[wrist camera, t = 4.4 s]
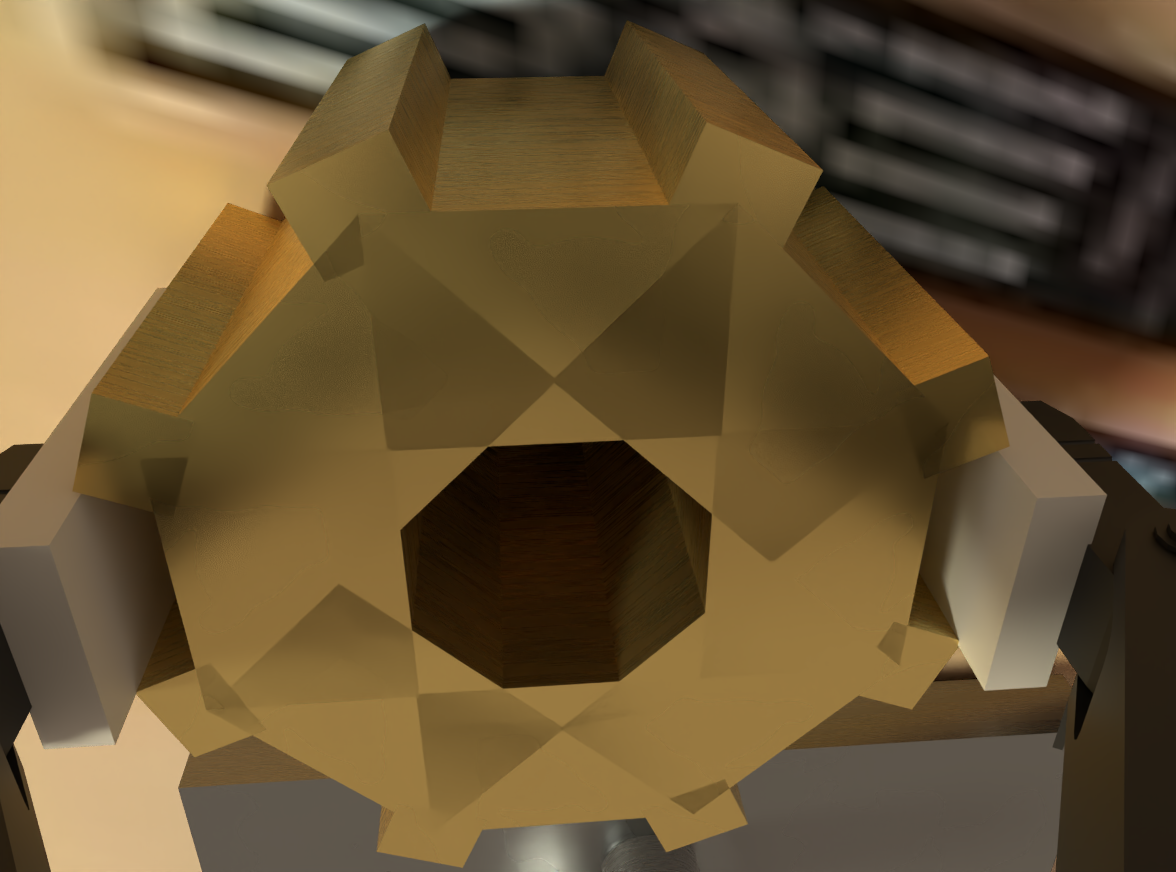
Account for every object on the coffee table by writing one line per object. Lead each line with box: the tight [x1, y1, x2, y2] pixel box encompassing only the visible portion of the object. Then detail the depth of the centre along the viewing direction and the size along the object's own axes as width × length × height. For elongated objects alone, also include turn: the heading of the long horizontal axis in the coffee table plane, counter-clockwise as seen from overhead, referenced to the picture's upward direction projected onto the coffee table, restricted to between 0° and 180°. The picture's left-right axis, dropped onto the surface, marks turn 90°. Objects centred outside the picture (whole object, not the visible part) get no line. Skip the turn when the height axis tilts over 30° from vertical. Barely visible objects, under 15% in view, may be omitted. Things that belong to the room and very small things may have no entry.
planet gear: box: [72, 20, 1010, 868], centre depth 14 cm, size 10×10×6 cm
